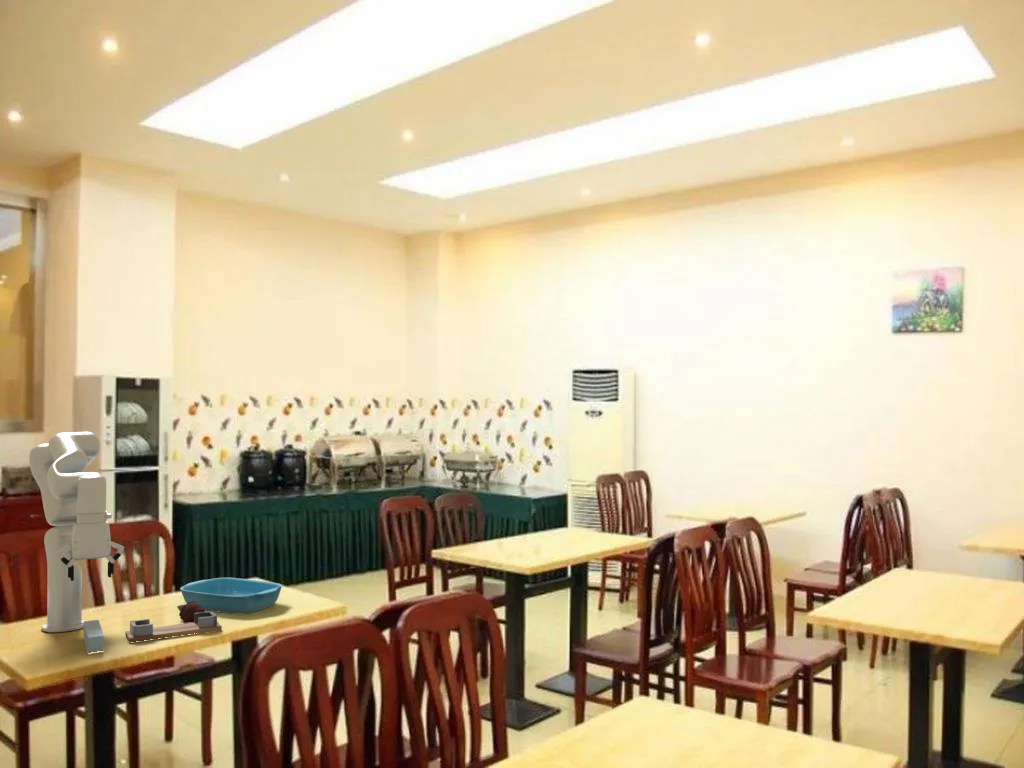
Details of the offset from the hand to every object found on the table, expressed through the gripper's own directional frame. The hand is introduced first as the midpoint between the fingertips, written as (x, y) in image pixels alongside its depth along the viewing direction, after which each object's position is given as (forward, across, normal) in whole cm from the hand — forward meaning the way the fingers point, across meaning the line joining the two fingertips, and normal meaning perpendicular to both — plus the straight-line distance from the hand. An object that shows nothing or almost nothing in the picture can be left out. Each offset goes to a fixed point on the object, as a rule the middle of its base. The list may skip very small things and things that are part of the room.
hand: (90, 578), depth 245 cm
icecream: (+20, -30, -14) cm, 39 cm away
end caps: (+18, -23, -3) cm, 29 cm away
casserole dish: (+21, -46, -30) cm, 59 cm away
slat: (+20, -1, -3) cm, 20 cm away
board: (+20, -23, -3) cm, 30 cm away
